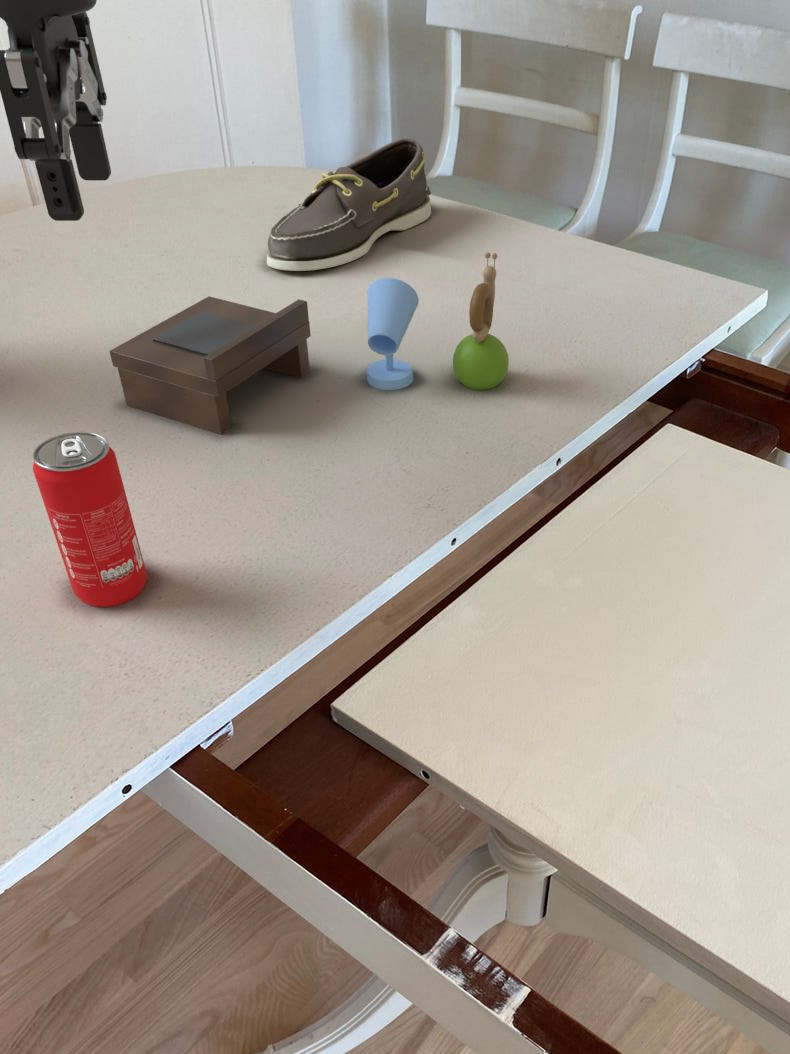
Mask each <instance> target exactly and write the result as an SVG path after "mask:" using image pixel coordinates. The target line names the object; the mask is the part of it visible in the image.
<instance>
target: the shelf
mask: <svg viewBox="0 0 790 1054" xmlns="http://www.w3.org/2000/svg"><path fill="white" fill-rule="evenodd" d="M310 337H311V324H310V317H309V307H308V301H307V300H304V299H296V300H295V301H294V302H292V303H290V304H288V305H287V306H285V307H283V308H281V309H280V310H279V311H277V312H272V311H269V310H265V309H261V308H258V307H253V306H250V305H246V304H241V303H237V302H234V301H229V300H226V299H221V298H218V297H213V296H207V297H205V298H203V299H201V300H200V301H198V302H195V303H194V304H192V305H190V306H188V307H187V308H185V309H183V310H182V311H179V312H177V313H176V314H174V315H172V316H169V317H168V318H167V319H164V320H163V321H161V322H159V323H157V324H155V325H154V326H152V327H149V328H148V329H146V330H145V331H143V332H141V333H139V334H138V335H135V336H134V337H132V338H130V339H129V340H126V341H125V342H123V343H120V344H119V345H118V346H116V347H113V348H112V349H110V350H109V355H110V360H111V363H112V367H114V368H117V371H118V375H119V379H120V380H119V381H120V384H121V388H122V392H123V396H124V400H125V404H126V406H127V407H130V408H132V409H135V410H139V411H142V412H146V413H149V414H153V415H155V416H159V417H162V418H165V419H168V420H171V421H175V422H178V423H181V424H184V425H188V426H190V427H194V428H198V429H201V430H204V431H206V432H210V433H212V434H213V433H214V434H217V435H220V436H223V434H225V433H227V432H228V431H229V430H231V429H232V423H231V422H232V421H231V417H230V410H229V404H228V399H227V393H228V392H229V391H231V390H233V389H234V388H235V387H237V386H238V385H240V384H241V383H243V382H244V381H246V380H247V379H249V378H251V377H252V376H253V375H255V374H256V373H258V372H259V371H261V370H262V369H267V370H271V371H274V372H278V373H281V374H285V375H289V376H292V377H295V378H299V379H303V378H304V377H306V376H307V375H309V374H310V373H311V367H310V358H309V349H308V339H309V338H310Z"/></svg>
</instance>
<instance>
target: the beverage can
mask: <svg viewBox="0 0 790 1054" xmlns="http://www.w3.org/2000/svg"><path fill="white" fill-rule="evenodd" d="M32 453H33V454H32V459H33V464H32V472H33V474H34V477H35V480H36V481H35V482H36V483H37V487H38V489H39V493H40V495H41V499H42V501H43V505H44V508H45V512H46V514H47V516H48V520H49V523H50V525H51V529H52V532H53V535H54V537H55V541H56V544H57V547H58V549H59V553H60V556H61V559H62V562H63V565H64V568H65V571H66V574H67V577H68V580H69V583H70V586H71V589H72V592H73V594H74V595H75V596H76V597H77V598H78V599H79V600H80V601H81V602H83V603H84V604H86V605H90V606H92V607H100V608H105V607H115V606H119V605H122V604H125V603H127V602H129V601H131V600H133V599H134V598H136V597H137V596H138V595H139V594H141V592H142V591H143V590H144V588H145V585H146V582H147V579H148V573H147V569H146V565H145V562H144V558H143V554H142V550H141V546H140V542H139V539H138V535H137V531H136V528H135V524H134V520H133V516H132V512H131V508H130V505H129V502H128V497H127V493H126V489H125V486H124V482H123V477H122V474H121V471H120V467H119V464H118V463H119V462H118V460H117V455H116V453H115V451H114V450H113V449H112V447H111V446H110V444H109V442H108V440H107V439H106V438H105V437H104V436H102V435H100V434H97V433H94V432H88V431H74V432H73V431H71V432H67V433H62V434H61V433H60V434H58V435H54V436H52V437H50V438H47V439H46V440H44V441H42V442H41V443H40V444H38V445H37V446H36V447H35V449H34V450H33V452H32Z"/></svg>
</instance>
